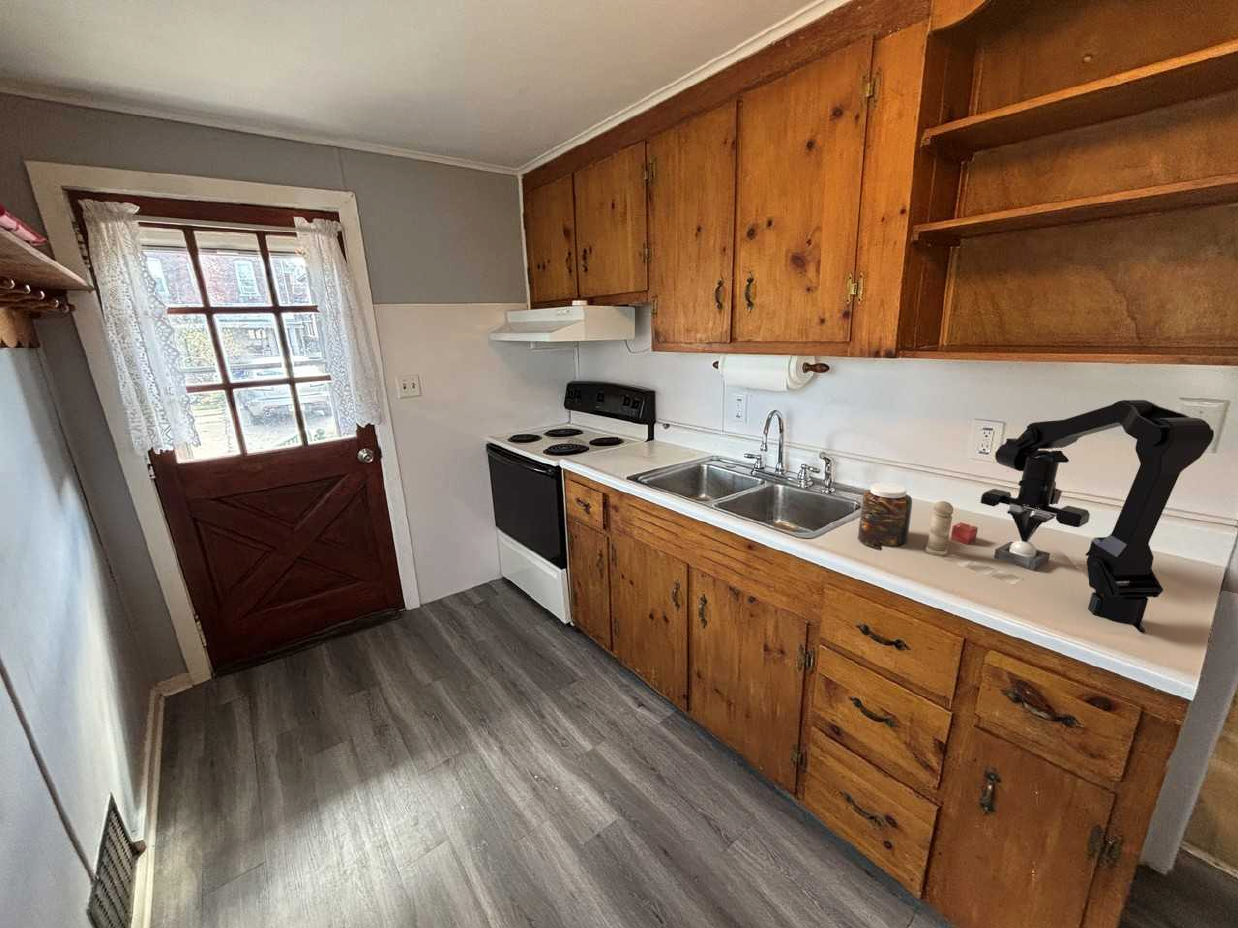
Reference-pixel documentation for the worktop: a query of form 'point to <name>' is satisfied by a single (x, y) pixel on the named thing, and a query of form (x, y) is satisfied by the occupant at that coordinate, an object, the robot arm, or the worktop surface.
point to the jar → (885, 516)
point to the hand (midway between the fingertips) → (1024, 541)
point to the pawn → (940, 529)
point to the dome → (1023, 549)
